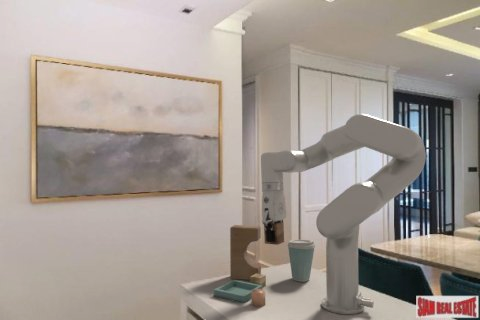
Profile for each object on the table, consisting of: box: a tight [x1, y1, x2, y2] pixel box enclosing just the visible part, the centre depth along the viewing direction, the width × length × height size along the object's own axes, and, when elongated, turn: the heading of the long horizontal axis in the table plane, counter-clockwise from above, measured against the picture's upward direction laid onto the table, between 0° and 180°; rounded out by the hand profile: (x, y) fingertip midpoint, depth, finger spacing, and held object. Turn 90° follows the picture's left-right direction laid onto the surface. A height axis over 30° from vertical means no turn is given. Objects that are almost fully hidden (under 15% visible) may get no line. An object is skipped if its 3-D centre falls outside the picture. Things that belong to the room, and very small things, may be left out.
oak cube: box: [250, 273, 267, 289], centre depth 125 cm, size 4×4×4 cm
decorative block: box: [229, 224, 262, 281], centre depth 135 cm, size 11×6×20 cm, turn 72°
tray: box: [213, 279, 264, 304], centre depth 118 cm, size 12×12×2 cm
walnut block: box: [263, 221, 285, 246], centre depth 120 cm, size 5×5×7 cm
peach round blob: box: [250, 289, 266, 308], centre depth 109 cm, size 4×4×4 cm
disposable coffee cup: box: [287, 239, 316, 282], centre depth 134 cm, size 11×11×15 cm
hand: (274, 239), depth 120 cm, fingers closed on walnut block, 5 cm apart
